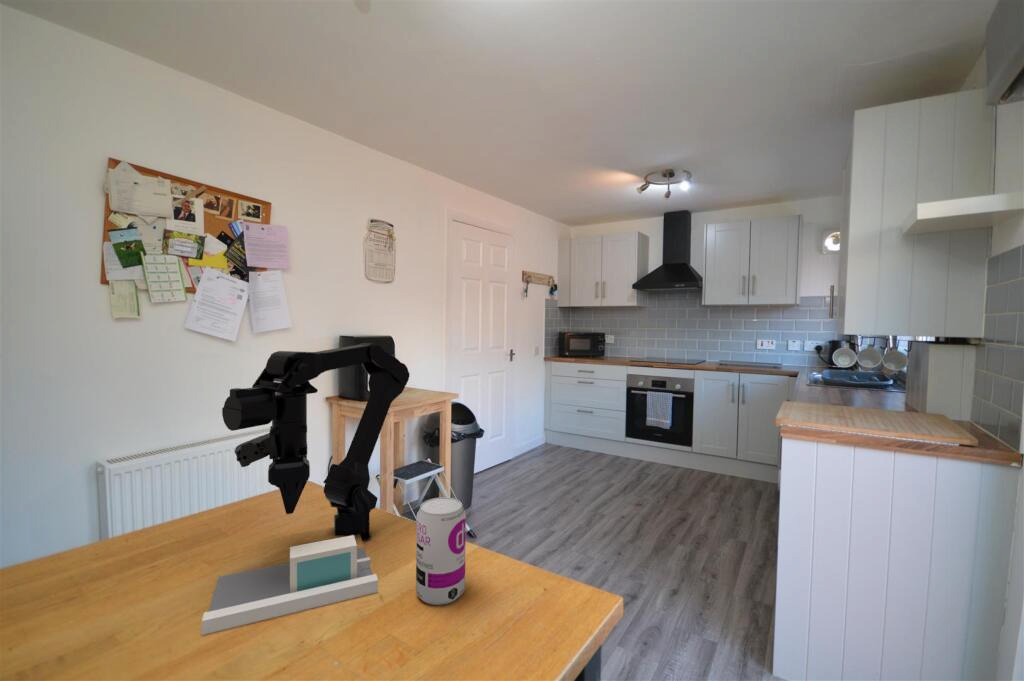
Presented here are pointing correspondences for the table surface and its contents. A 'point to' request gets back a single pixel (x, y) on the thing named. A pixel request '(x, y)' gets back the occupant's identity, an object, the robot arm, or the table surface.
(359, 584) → the shelf board
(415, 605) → the table surface
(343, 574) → the carton
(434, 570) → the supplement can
